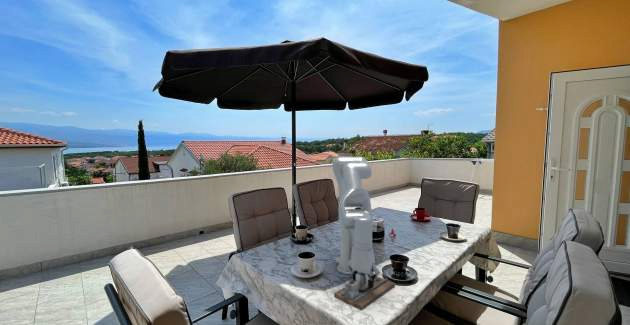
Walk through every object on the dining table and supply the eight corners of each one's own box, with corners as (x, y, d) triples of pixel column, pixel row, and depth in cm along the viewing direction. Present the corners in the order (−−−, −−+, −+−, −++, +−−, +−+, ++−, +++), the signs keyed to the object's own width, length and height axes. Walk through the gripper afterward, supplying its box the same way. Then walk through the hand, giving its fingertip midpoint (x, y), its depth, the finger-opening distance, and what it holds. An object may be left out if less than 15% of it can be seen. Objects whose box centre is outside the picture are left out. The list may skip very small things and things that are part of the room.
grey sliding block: (355, 289, 120) (355, 272, 120) (362, 285, 124) (362, 268, 123) (363, 292, 118) (363, 274, 117) (370, 288, 121) (370, 271, 121)
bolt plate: (334, 296, 118) (334, 277, 118) (368, 276, 136) (369, 260, 136) (361, 310, 108) (361, 289, 108) (394, 286, 126) (395, 268, 126)
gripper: (342, 242, 123) (341, 281, 124) (375, 252, 111) (375, 295, 112) (352, 238, 128) (352, 275, 129) (385, 247, 116) (385, 288, 117)
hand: (362, 284), depth 121 cm, fingers open, 7 cm apart
